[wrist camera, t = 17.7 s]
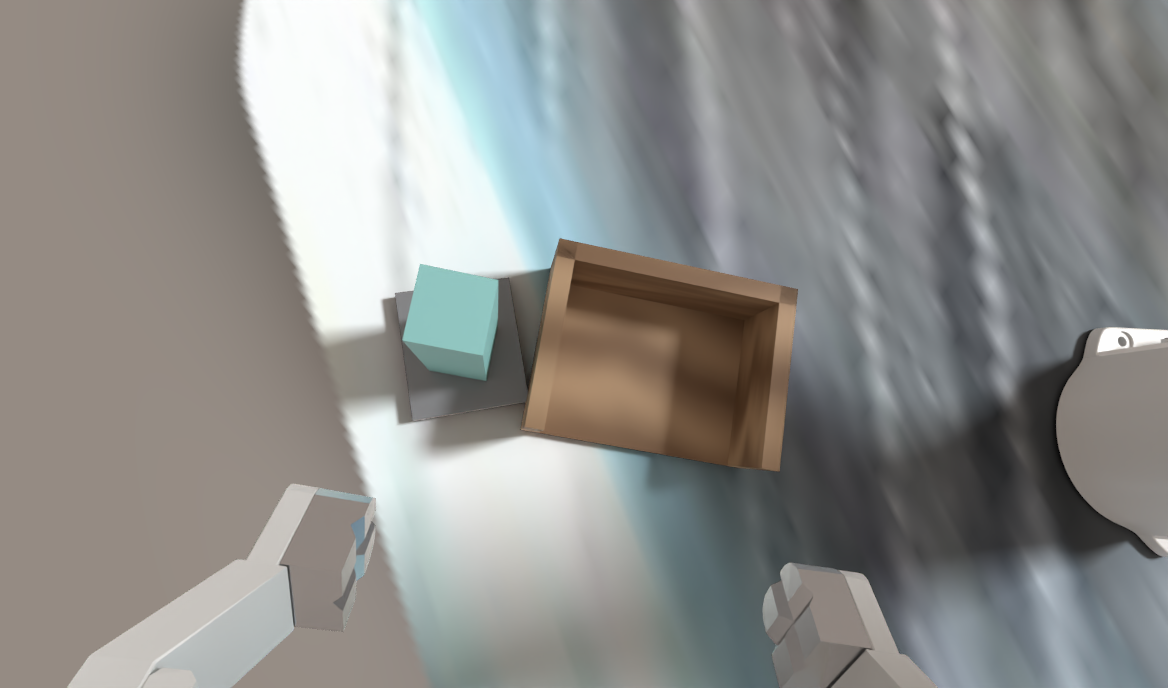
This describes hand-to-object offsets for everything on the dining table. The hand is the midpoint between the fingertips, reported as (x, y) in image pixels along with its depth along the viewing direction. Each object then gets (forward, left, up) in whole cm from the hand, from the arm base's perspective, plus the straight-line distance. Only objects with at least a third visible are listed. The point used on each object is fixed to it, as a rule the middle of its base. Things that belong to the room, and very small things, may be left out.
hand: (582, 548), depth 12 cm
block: (+3, -9, -30) cm, 31 cm away
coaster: (+3, -9, -31) cm, 32 cm away
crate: (-10, -5, -31) cm, 33 cm away
